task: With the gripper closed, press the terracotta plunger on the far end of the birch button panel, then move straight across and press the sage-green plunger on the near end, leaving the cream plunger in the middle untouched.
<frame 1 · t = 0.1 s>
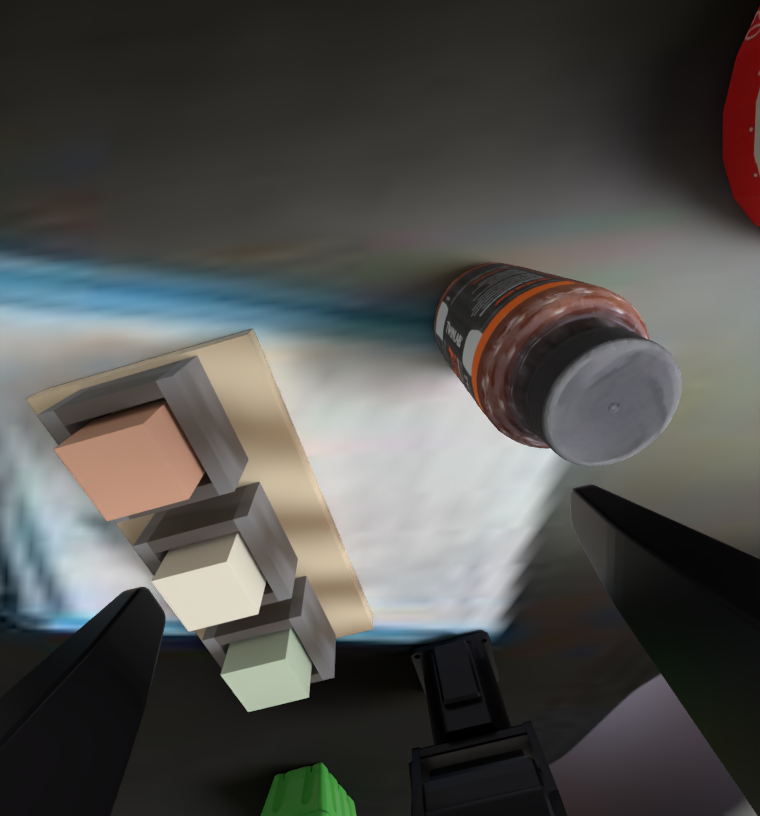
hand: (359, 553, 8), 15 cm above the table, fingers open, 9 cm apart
supplement bottle: (484, 319, 21), on the table
button terracotta: (139, 458, 18), point 4 cm above the table, slide at 0.0 cm
button sage: (270, 663, 25), point 4 cm above the table, slide at 0.0 cm
fruit basket: (321, 783, 41), on the table
button cream: (215, 576, 22), point 4 cm above the table, slide at 0.0 cm
button panel: (236, 522, 26), on the table
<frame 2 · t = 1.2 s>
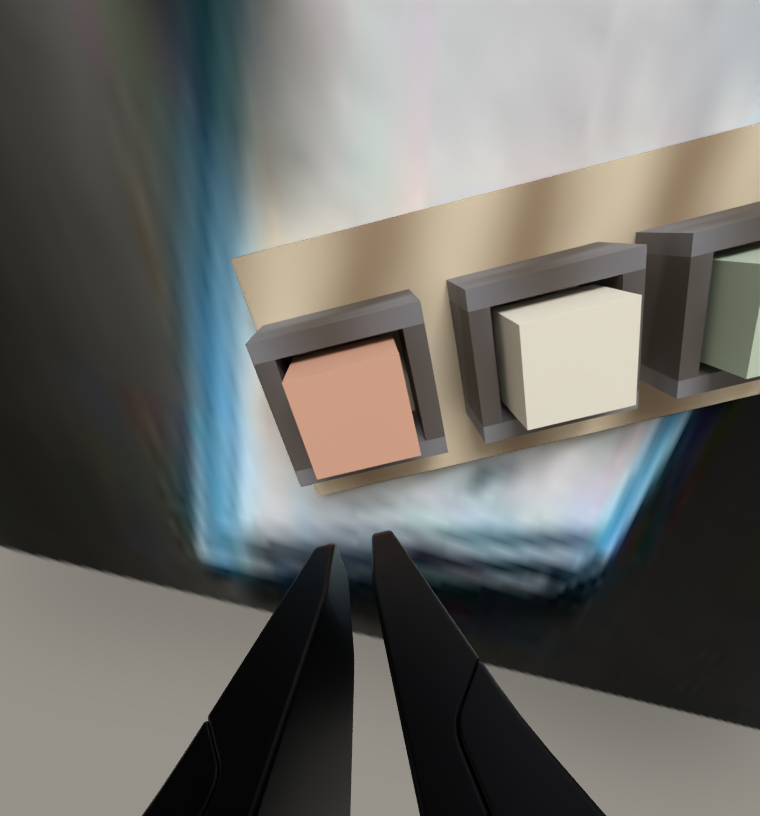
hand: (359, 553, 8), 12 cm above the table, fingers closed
button terracotta: (355, 404, 15), point 4 cm above the table, slide at 0.0 cm
button cream: (561, 355, 15), point 4 cm above the table, slide at 0.0 cm
button panel: (516, 328, 19), on the table
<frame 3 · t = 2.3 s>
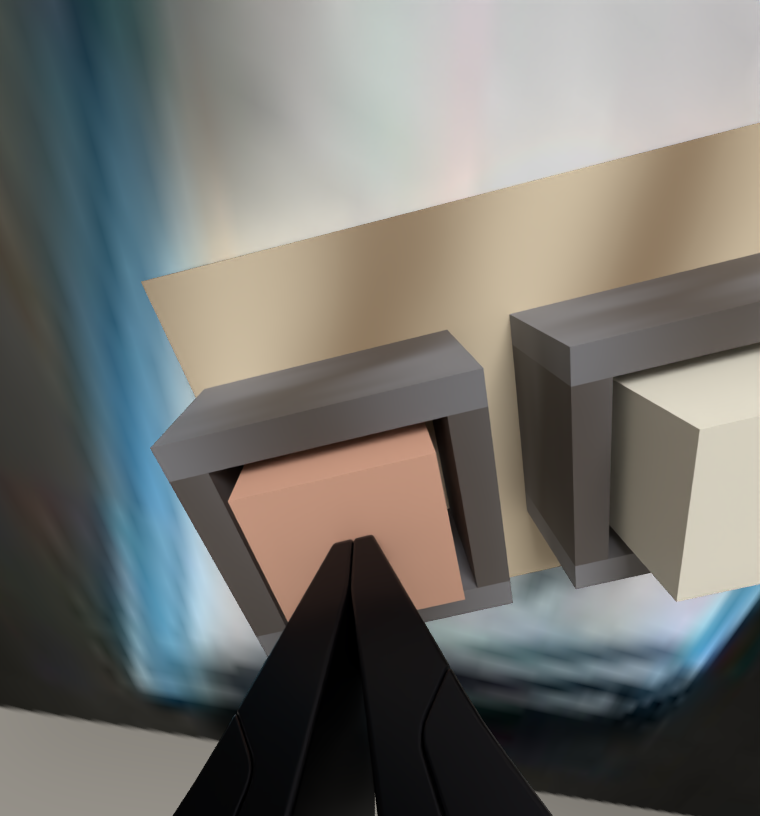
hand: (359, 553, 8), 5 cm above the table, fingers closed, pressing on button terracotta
button terracotta: (356, 510, 9), point 3 cm above the table, slide at 1.1 cm, touching gripper
button cream: (730, 458, 8), point 4 cm above the table, slide at 0.0 cm
button panel: (605, 382, 12), on the table
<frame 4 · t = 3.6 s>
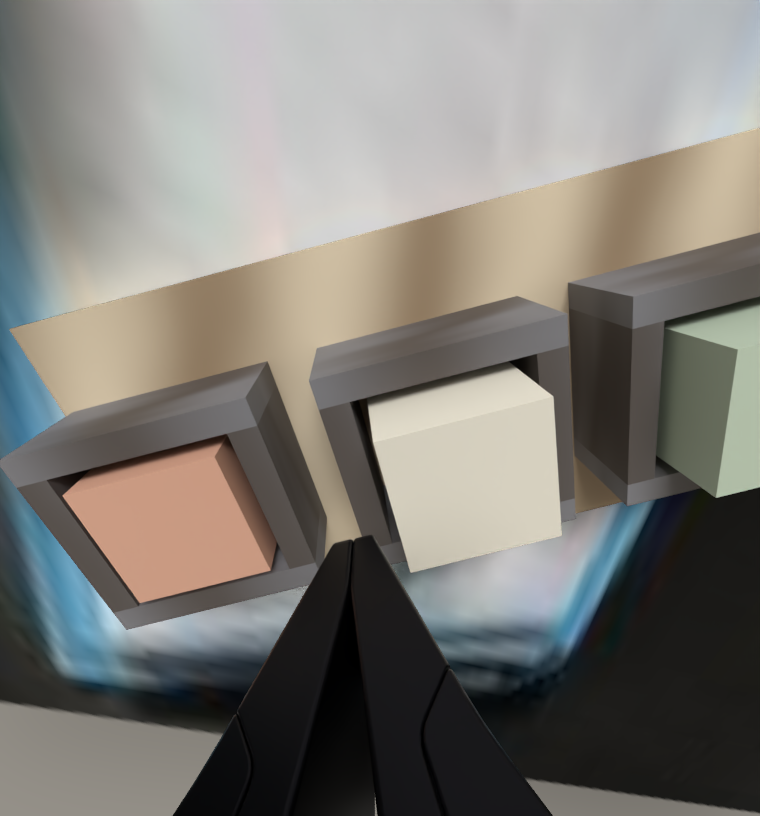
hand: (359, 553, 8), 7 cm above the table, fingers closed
button terracotta: (192, 503, 12), point 3 cm above the table, slide at 1.3 cm
button sage: (753, 387, 10), point 4 cm above the table, slide at 0.0 cm
button cream: (459, 461, 11), point 4 cm above the table, slide at 0.0 cm
button panel: (428, 399, 15), on the table
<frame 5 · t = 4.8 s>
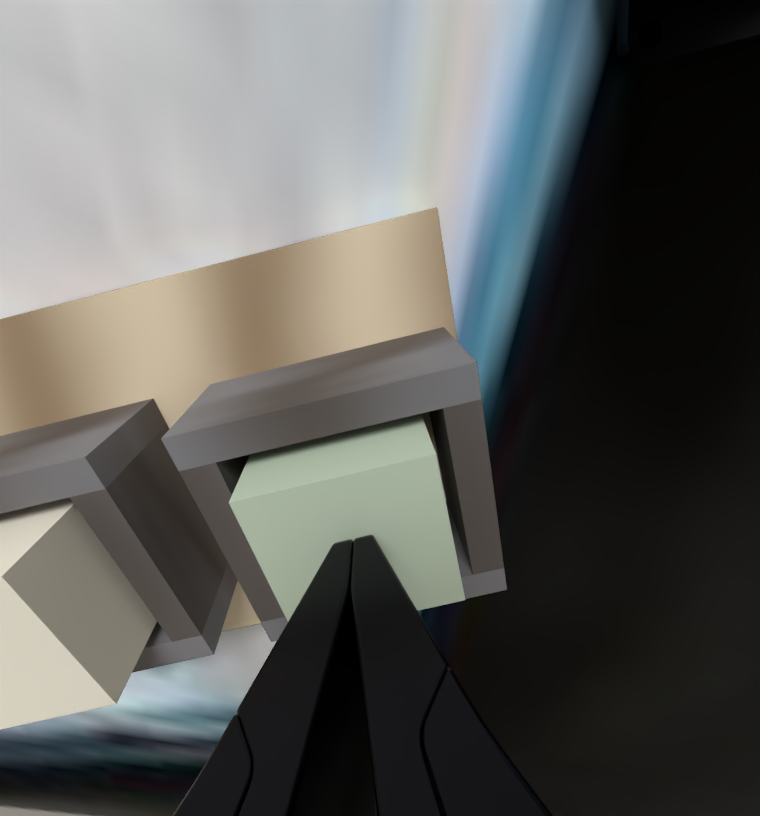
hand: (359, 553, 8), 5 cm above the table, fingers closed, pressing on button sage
button sage: (357, 511, 9), point 4 cm above the table, slide at 0.7 cm, touching gripper
button cream: (23, 607, 9), point 4 cm above the table, slide at 0.0 cm
button panel: (123, 491, 13), on the table
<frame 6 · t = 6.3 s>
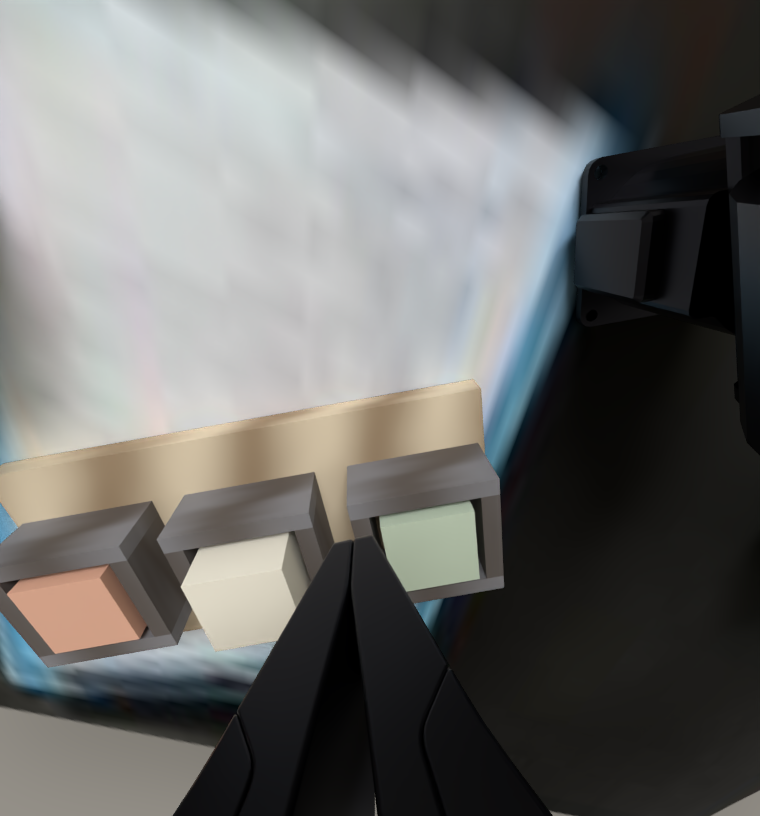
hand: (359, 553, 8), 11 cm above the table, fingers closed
button terracotta: (95, 591, 19), point 3 cm above the table, slide at 1.3 cm
button sage: (426, 532, 19), point 3 cm above the table, slide at 1.3 cm
button cream: (254, 584, 17), point 4 cm above the table, slide at 0.0 cm
button panel: (272, 518, 21), on the table
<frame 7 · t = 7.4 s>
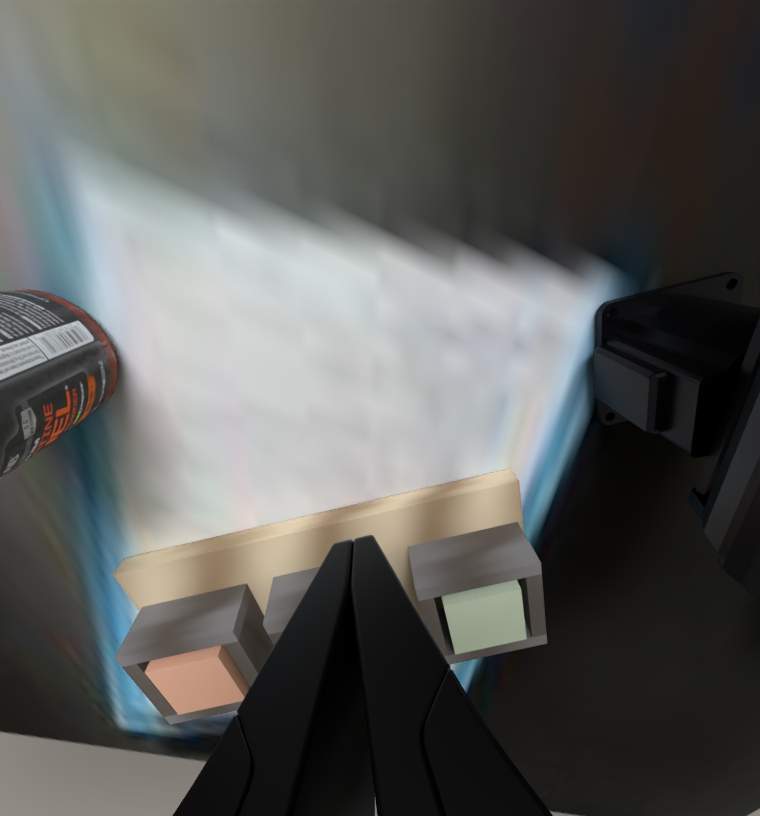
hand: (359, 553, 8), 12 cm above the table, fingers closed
supplement bottle: (58, 352, 18), on the table
button terracotta: (205, 661, 23), point 3 cm above the table, slide at 1.3 cm
button sage: (478, 600, 22), point 3 cm above the table, slide at 1.3 cm
button panel: (341, 586, 25), on the table
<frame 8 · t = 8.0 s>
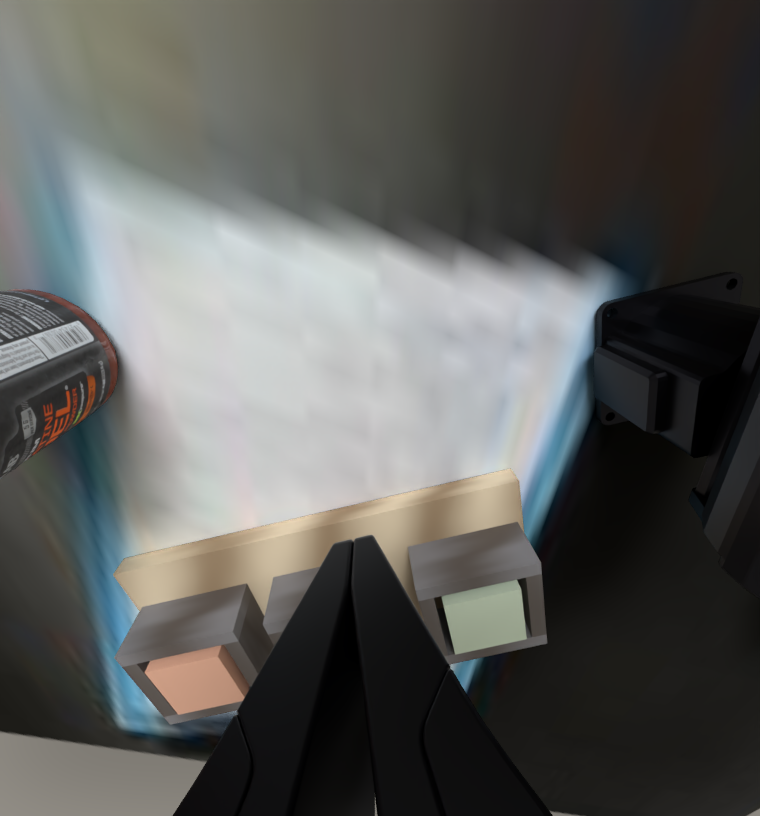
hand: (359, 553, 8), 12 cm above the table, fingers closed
supplement bottle: (58, 352, 18), on the table
button terracotta: (205, 661, 23), point 3 cm above the table, slide at 1.3 cm
button sage: (478, 600, 22), point 3 cm above the table, slide at 1.3 cm
button panel: (341, 586, 25), on the table
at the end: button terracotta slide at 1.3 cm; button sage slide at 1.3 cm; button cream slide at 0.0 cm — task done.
